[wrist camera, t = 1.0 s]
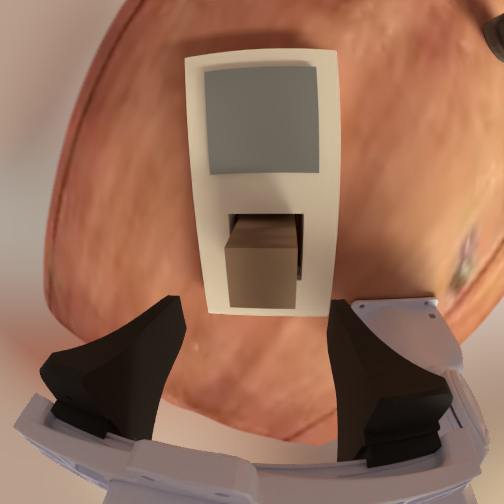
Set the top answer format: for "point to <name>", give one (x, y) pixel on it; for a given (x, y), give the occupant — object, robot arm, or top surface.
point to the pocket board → (268, 184)
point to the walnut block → (262, 262)
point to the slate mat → (262, 120)
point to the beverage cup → (495, 36)
